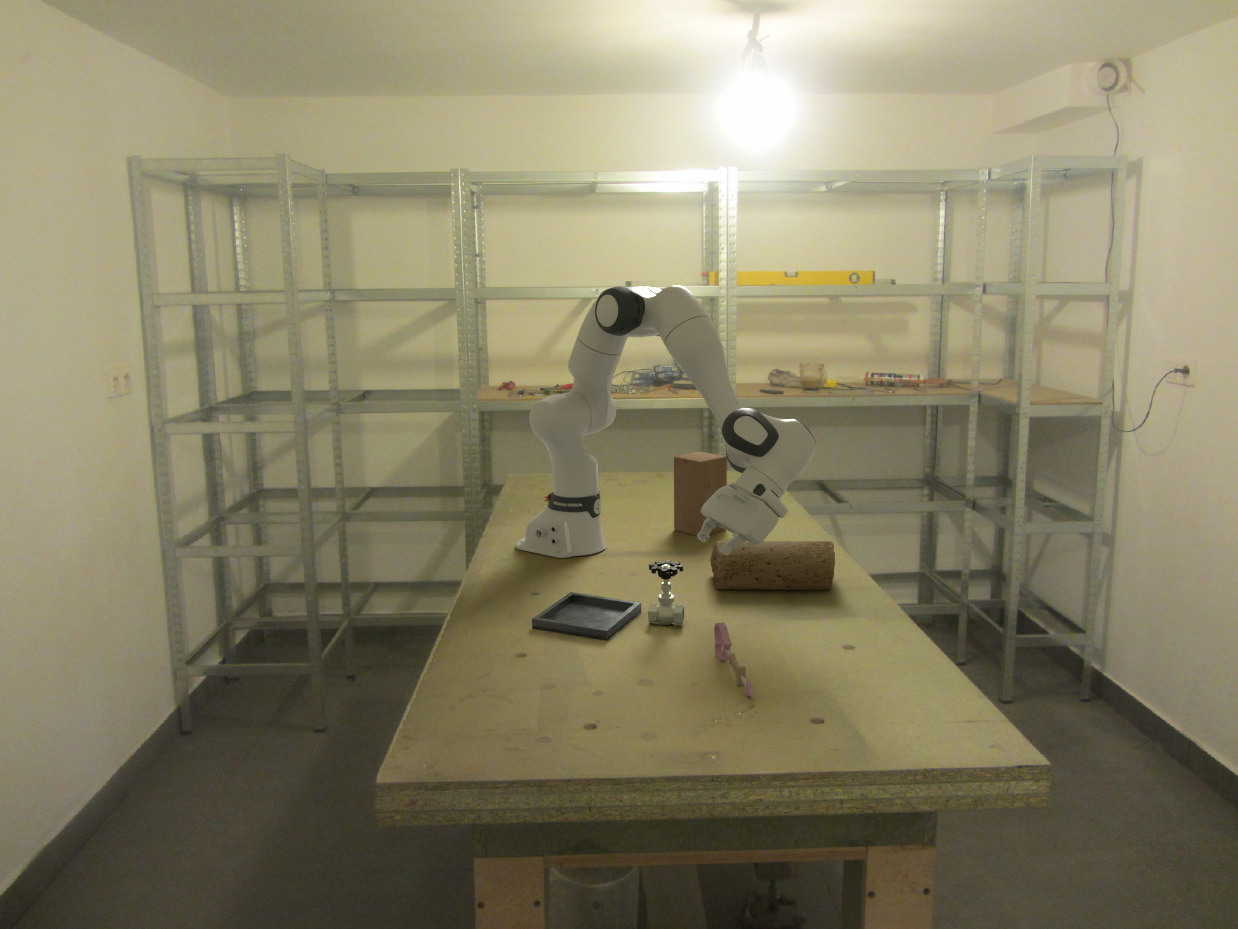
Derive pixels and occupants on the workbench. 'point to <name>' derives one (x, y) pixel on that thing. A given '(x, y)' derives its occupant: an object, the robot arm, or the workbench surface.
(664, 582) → the valve
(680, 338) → the robot arm
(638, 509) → the workbench surface
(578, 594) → the dark gray tray
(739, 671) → the decorative key
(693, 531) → the wooden block
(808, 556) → the core sample
